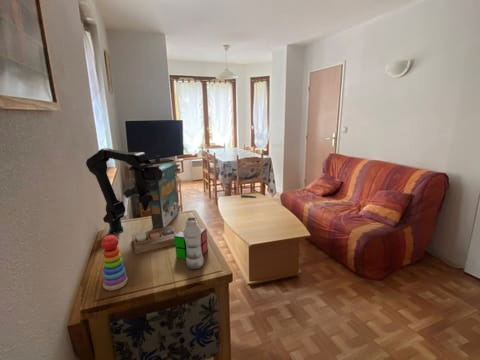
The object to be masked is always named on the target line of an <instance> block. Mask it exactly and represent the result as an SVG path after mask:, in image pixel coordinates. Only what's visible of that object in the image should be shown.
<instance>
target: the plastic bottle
mask: <svg viewBox="0 0 480 360" xmlns="http://www.w3.org/2000/svg"><path fill="white" fill-rule="evenodd" d="M185 221H186V222H185V225H186V226H185V227H186V228H185V227H184V228H185V229H184V228H183V229H184V232H183V234H184V239H185V242H186V248H187V257H186V259H185V261H186V262H185V263H186V265H187V267H188V269H190V270H198V269H200V268H201V267H203V264H204V256H203V255H202V252H201V245H200V244H201V241H200V240H201V230H200V228H201V227H199V226H198V225H197V224H198V223H197V218H196V217H187V218H186V219H185Z"/></svg>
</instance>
